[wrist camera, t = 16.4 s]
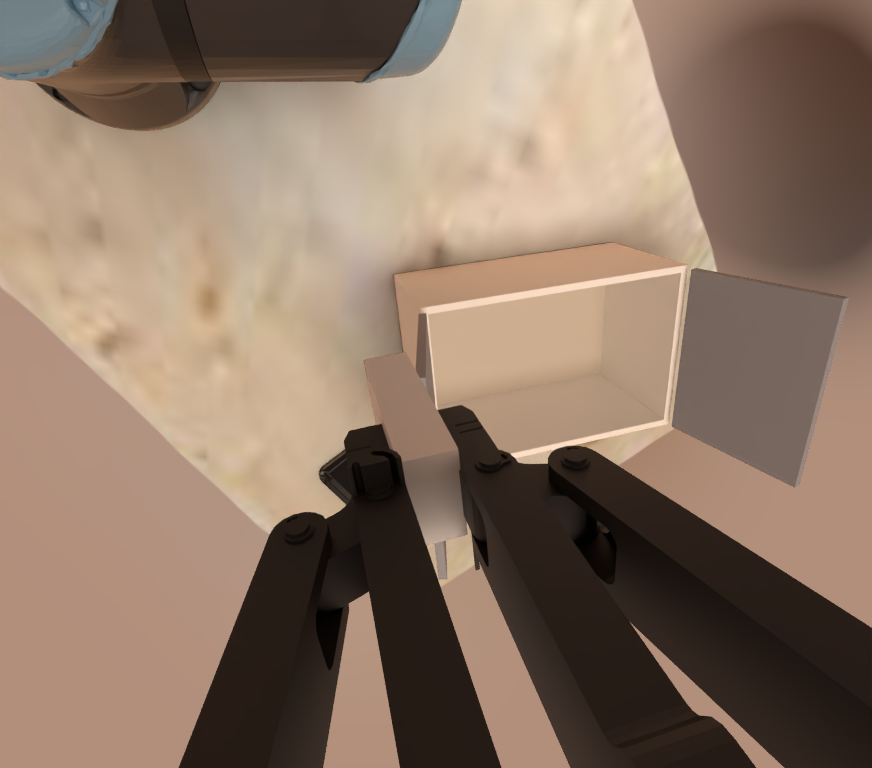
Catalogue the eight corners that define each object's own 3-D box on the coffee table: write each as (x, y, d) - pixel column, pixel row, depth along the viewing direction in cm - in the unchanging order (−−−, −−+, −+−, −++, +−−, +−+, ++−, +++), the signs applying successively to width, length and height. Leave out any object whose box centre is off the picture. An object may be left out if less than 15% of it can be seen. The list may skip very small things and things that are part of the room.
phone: (370, 434, 57) (443, 512, 64) (369, 429, 58) (441, 507, 65) (314, 476, 58) (393, 549, 65) (314, 470, 59) (391, 543, 66)
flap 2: (843, 299, 35) (849, 297, 35) (691, 269, 44) (696, 268, 45) (794, 487, 42) (799, 485, 42) (671, 426, 51) (675, 424, 51)
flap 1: (426, 313, 40) (418, 313, 40) (425, 377, 29) (415, 378, 29) (442, 478, 47) (436, 478, 47) (447, 578, 36) (438, 579, 36)
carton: (393, 274, 52) (420, 308, 41) (611, 242, 56) (688, 264, 45) (410, 414, 58) (437, 475, 48) (603, 376, 63) (668, 423, 52)
